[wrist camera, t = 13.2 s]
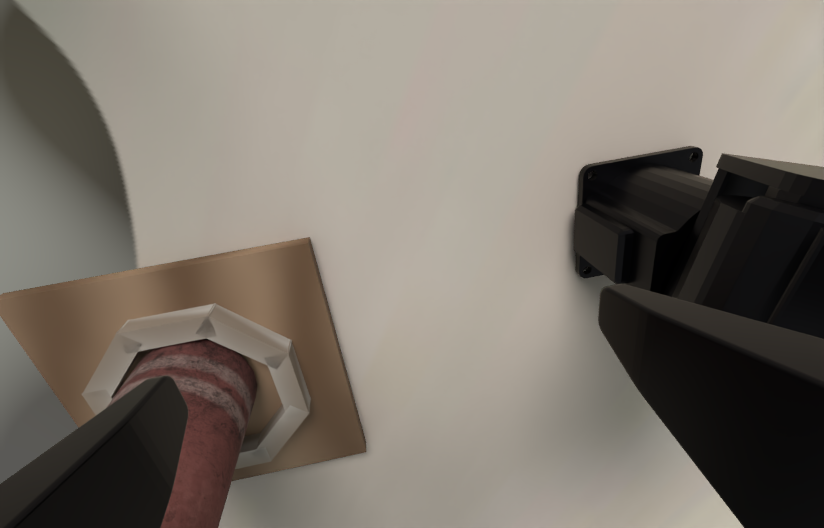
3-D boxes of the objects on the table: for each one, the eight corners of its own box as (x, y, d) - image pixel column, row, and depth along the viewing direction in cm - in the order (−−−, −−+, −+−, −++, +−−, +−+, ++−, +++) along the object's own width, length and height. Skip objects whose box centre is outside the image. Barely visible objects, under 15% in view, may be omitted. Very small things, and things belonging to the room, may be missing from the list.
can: (186, 436, 24) (8, 831, 12) (115, 357, 21) (-223, 768, 9) (281, 399, 24) (204, 761, 11) (221, 315, 21) (32, 673, 9)
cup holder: (309, 237, 21) (305, 253, 19) (365, 442, 27) (366, 467, 26) (3, 293, 20) (-32, 315, 18) (137, 491, 26) (122, 521, 25)
